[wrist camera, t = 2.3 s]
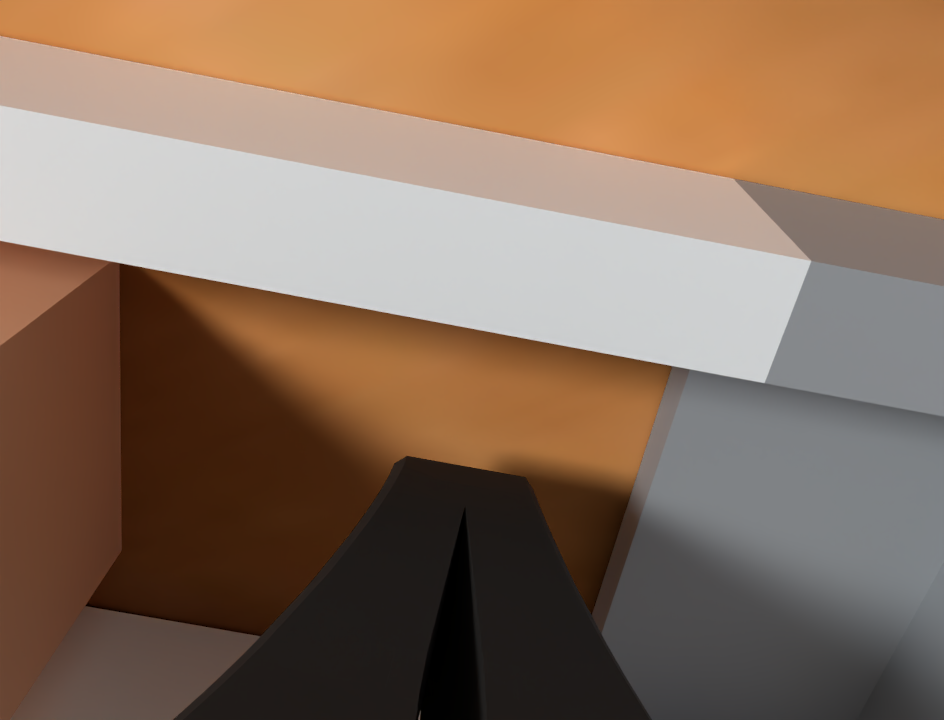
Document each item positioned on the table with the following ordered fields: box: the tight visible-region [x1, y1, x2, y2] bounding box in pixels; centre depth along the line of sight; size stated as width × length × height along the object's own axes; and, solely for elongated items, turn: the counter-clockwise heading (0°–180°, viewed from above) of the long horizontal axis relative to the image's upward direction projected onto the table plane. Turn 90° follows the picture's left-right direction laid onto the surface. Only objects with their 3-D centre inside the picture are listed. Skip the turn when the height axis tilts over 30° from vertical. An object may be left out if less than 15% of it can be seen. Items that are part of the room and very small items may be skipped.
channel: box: [0, 36, 811, 720], centre depth 9 cm, size 10×8×2 cm
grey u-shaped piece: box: [592, 179, 944, 720], centre depth 9 cm, size 4×8×2 cm, turn 170°
